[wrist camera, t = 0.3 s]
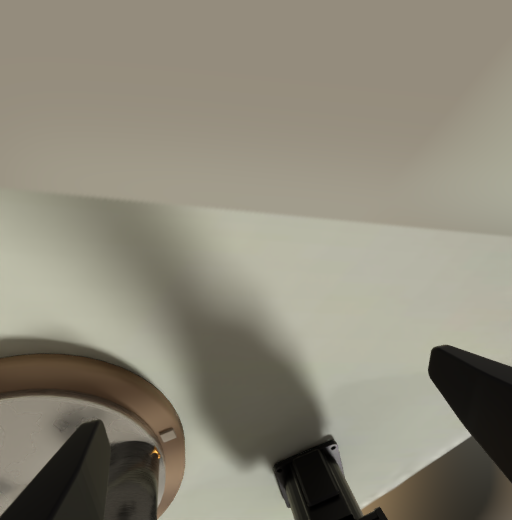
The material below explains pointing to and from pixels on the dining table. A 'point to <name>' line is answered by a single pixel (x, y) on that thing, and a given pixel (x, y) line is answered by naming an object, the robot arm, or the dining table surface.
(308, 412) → the dining table surface
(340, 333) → the dining table surface
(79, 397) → the dial
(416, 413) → the dining table surface
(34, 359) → the dial base
